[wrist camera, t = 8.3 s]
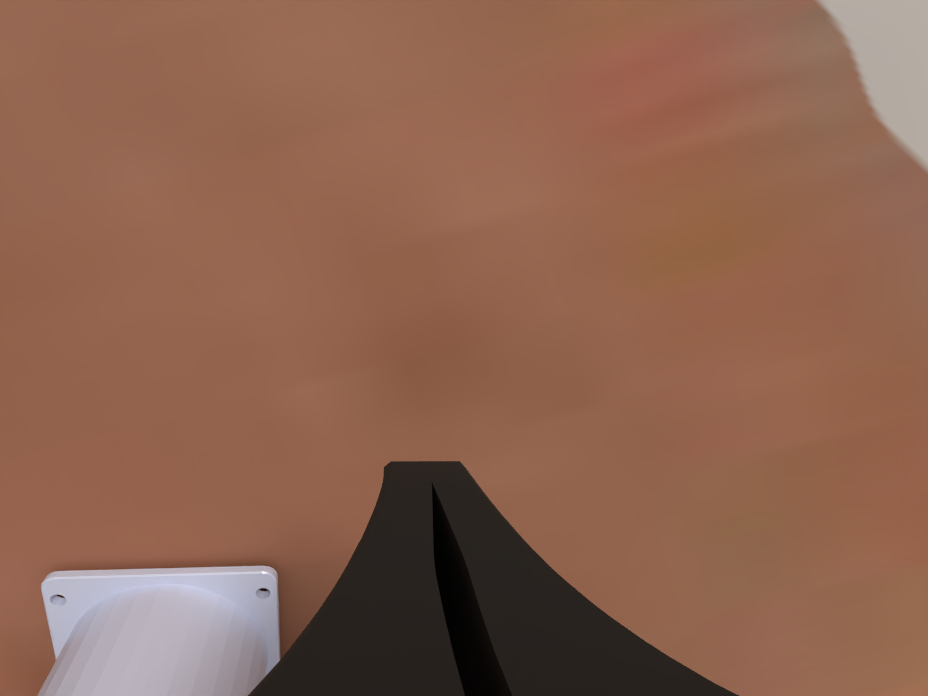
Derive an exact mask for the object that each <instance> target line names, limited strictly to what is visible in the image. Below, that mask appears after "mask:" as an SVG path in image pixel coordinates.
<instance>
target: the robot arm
mask: <svg viewBox="0 0 928 696" xmlns="http://www.w3.org/2000/svg"><path fill="white" fill-rule="evenodd" d="M260 588H266V589H268V590H269V591H261V590H259V589H260ZM41 591H42V596H43V601H44V605H45V610H46V615H47V620H48V625H49V629H50V634H51V639H52V644H53V649H54V653H55V658H56V662H55V663H54V665H53V667H52V669H51V671H50V673H49V675H48V676H47V678H46V680H45V682H44V684H43V686H42V688H41V689H40V691H39V693H38V695H37V696H738V695H736V694H734V693H732V692H730V691H729V690H727V689H725V688H723V687H721V686H719V685H717V684H715V683H713V682H711V681H710V680H708V679H706V678H704V677H703V676H701V675H699V674H698V673H696V672H694V671H692V670H691V669H689V668H687V667H686V666H684V665H682V664H681V663H679V662H677V661H675V660H674V659H672V658H670V657H669V656H667V655H666V654H664V653H663V652H661V651H659V650H658V649H656V648H655V647H653V646H652V645H650V644H648V643H647V642H645V641H644V640H642V639H641V638H640V637H638V636H637V635H635V634H634V633H632V632H631V631H630V630H628V629H627V628H625V627H624V626H623V625H621V624H620V623H618V622H617V621H615V620H614V619H613V618H611V617H610V616H608V615H607V614H606V613H605V612H603V611H602V610H601V609H599V608H598V607H597V606H595V605H594V604H593V603H592V602H590V601H589V600H588V599H587V598H585V597H584V596H583V595H582V594H581V593H580V592H578V591H577V590H576V589H575V588H574V587H572V586H571V585H570V584H569V583H568V582H566V581H565V580H564V579H563V578H562V577H561V576H560V575H558V574H557V573H556V572H555V571H554V570H553V569H552V568H551V567H550V566H549V565H548V564H547V563H546V562H545V561H544V560H543V559H542V558H541V557H540V556H539V555H538V554H537V553H536V552H535V551H534V550H533V549H532V548H531V547H530V546H529V545H528V544H527V543H526V542H525V541H524V539H523V538H522V537H521V536H520V535H519V534H518V533H517V532H516V530H515V529H514V528H513V527H512V526H511V525H510V524H509V522H508V521H507V520H506V519H505V518H504V517H503V516H502V514H501V513H500V512H499V511H498V510H497V508H496V507H495V506H494V505H493V503H492V502H491V501H490V500H489V498H488V497H487V496H486V495H485V493H484V492H483V491H482V489H481V488H480V487H479V485H478V484H477V483H476V481H475V480H474V479H473V477H472V476H471V475H470V473H469V472H468V471H467V469H466V468H465V467H464V466H463V465H462V463H461V462H460V461H419V462H390V463H389V464H387V465H386V466H385V467H384V478H383V483H382V488H381V491H380V494H379V497H378V500H377V503H376V506H375V509H374V511H373V513H372V516H371V518H370V520H369V523H368V525H367V527H366V530H365V532H364V534H363V536H362V538H361V540H360V542H359V544H358V546H357V548H356V550H355V552H354V553H353V555H352V557H351V559H350V561H349V563H348V565H347V567H346V568H345V570H344V572H343V573H342V575H341V577H340V578H339V580H338V582H337V583H336V585H335V587H334V588H333V590H332V591H331V593H330V594H329V596H328V597H327V599H326V600H325V602H324V603H323V605H322V606H321V608H320V609H319V611H318V612H317V613H316V615H315V616H314V617H313V619H312V620H311V621H310V623H309V624H308V625H307V627H306V628H305V629H304V631H303V632H302V633H301V635H300V636H299V637H298V639H297V640H296V641H295V643H294V644H293V645H292V646H291V648H290V649H289V650H288V651H287V652H286V654H285V655H284V656H283V657H282V658H281V660H280V632H279V598H278V575H277V572H276V571H275V570H274V569H273V568H271V567H269V566H233V567H194V568H156V569H118V570H80V571H56V572H52V573H50V574H48V575H47V577H46V578H45V580H44V581H43V583H42V584H41ZM57 595H62V596H64V597H65V598H62V597H59V596H57Z"/></svg>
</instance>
